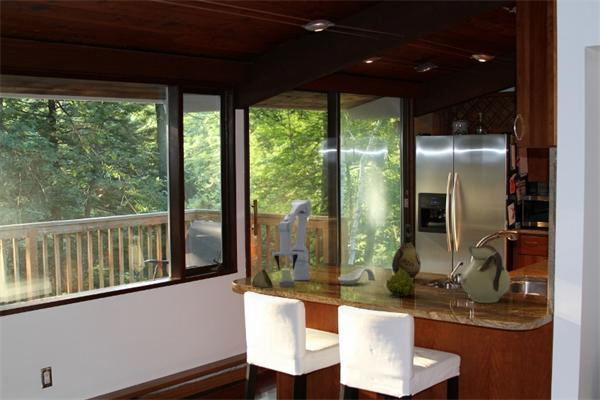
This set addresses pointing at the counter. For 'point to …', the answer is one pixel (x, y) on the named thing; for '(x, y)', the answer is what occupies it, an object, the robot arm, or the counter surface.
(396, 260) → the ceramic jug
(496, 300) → the pitcher
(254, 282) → the rock
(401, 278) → the vegetable
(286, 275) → the block
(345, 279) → the spoon rest
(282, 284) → the trivet
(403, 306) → the counter surface
